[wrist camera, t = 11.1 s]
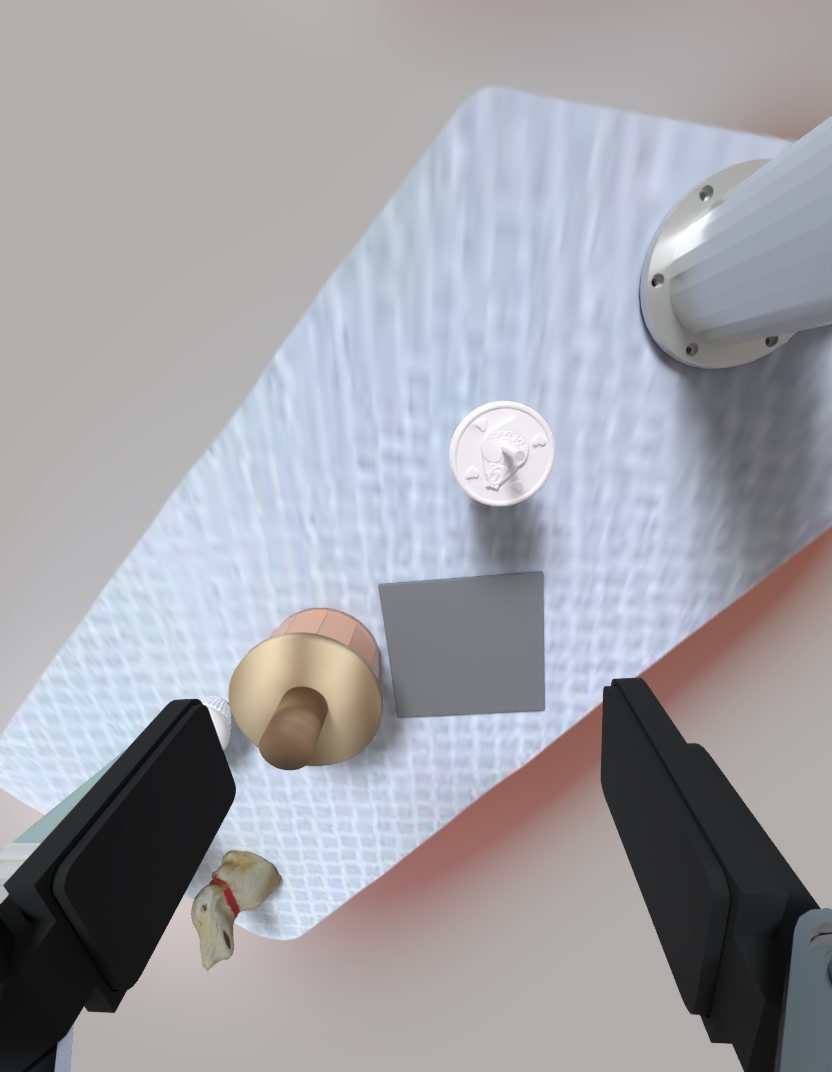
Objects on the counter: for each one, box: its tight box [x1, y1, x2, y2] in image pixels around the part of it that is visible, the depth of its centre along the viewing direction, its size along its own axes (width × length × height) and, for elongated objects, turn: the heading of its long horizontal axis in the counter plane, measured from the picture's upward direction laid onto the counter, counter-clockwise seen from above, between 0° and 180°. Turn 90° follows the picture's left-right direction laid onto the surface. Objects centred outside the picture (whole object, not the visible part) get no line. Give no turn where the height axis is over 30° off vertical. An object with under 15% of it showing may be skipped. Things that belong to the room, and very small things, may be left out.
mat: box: [379, 571, 545, 718], centre depth 39 cm, size 15×15×1 cm
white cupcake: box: [200, 696, 231, 751], centre depth 40 cm, size 6×6×7 cm
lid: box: [229, 632, 383, 770], centre depth 33 cm, size 13×13×6 cm
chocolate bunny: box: [191, 851, 281, 971], centre depth 46 cm, size 6×8×10 cm
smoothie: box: [449, 401, 555, 507], centre depth 27 cm, size 6×6×14 cm
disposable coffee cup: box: [0, 751, 125, 904], centre depth 39 cm, size 11×11×15 cm
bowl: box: [269, 608, 380, 679], centre depth 38 cm, size 11×11×6 cm
